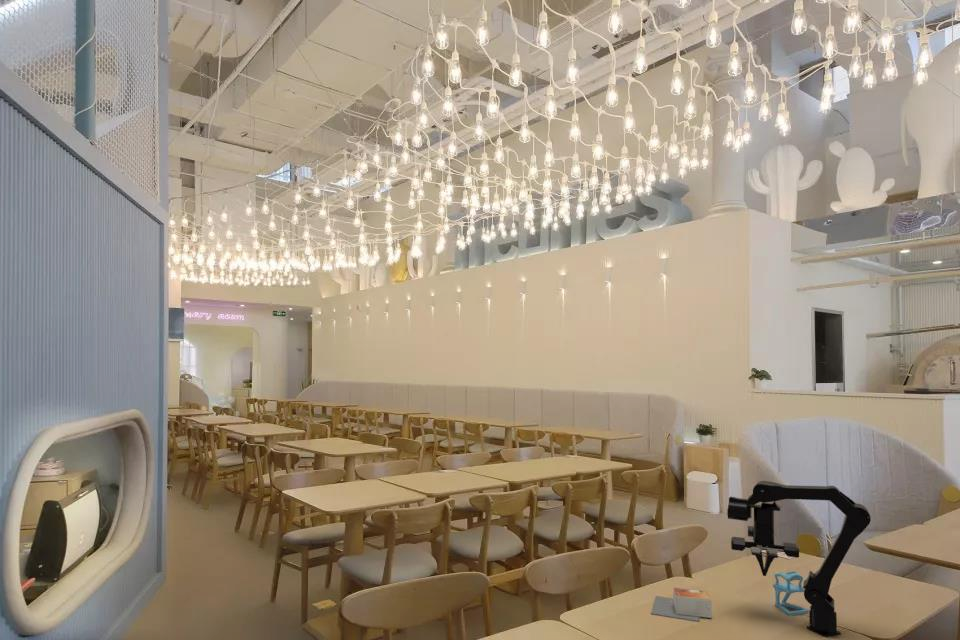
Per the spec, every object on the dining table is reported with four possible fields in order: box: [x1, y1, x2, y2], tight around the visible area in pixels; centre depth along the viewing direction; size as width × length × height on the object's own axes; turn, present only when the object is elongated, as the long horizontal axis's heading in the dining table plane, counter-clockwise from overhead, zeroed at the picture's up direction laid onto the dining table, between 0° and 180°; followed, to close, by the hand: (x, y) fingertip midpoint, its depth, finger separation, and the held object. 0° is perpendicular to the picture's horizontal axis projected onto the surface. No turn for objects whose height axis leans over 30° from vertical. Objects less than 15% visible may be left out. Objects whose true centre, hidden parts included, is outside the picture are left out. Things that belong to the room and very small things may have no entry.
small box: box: [672, 587, 713, 619], centre depth 193 cm, size 8×6×10 cm
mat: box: [650, 595, 701, 623], centre depth 196 cm, size 14×16×1 cm
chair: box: [772, 570, 809, 616], centre depth 198 cm, size 8×8×12 cm
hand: (764, 575), depth 190 cm, fingers closed
